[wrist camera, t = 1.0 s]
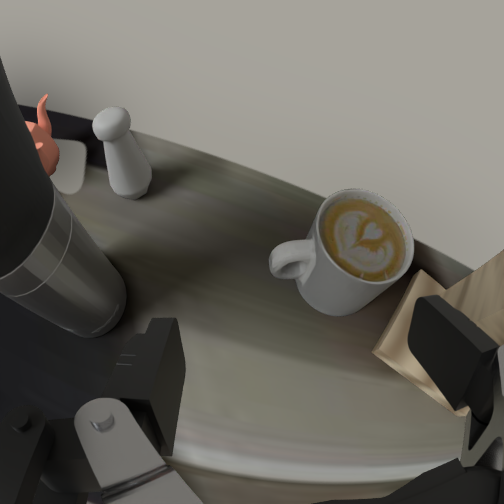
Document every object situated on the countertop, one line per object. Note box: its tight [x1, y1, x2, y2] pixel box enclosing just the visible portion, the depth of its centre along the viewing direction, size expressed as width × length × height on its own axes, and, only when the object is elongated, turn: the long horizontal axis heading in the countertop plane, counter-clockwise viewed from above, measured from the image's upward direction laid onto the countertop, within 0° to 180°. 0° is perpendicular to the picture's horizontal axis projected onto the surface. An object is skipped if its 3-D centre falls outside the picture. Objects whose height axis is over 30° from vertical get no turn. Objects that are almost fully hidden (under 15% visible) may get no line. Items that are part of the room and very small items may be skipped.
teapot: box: [25, 94, 59, 177], centre depth 34 cm, size 14×14×11 cm
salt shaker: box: [93, 106, 152, 200], centre depth 33 cm, size 6×6×13 cm
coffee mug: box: [269, 189, 414, 316], centre depth 30 cm, size 13×10×10 cm
